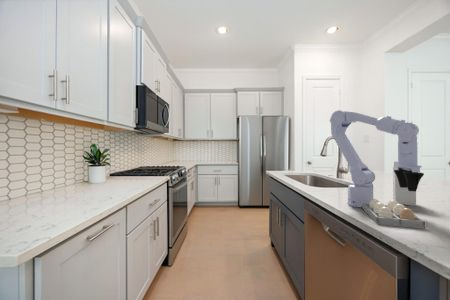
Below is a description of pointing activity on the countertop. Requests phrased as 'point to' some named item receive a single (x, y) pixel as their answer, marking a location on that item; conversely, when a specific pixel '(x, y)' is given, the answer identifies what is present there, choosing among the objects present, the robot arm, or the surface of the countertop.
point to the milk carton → (402, 191)
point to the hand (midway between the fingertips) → (407, 189)
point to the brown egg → (407, 214)
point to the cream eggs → (386, 208)
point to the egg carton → (393, 219)
